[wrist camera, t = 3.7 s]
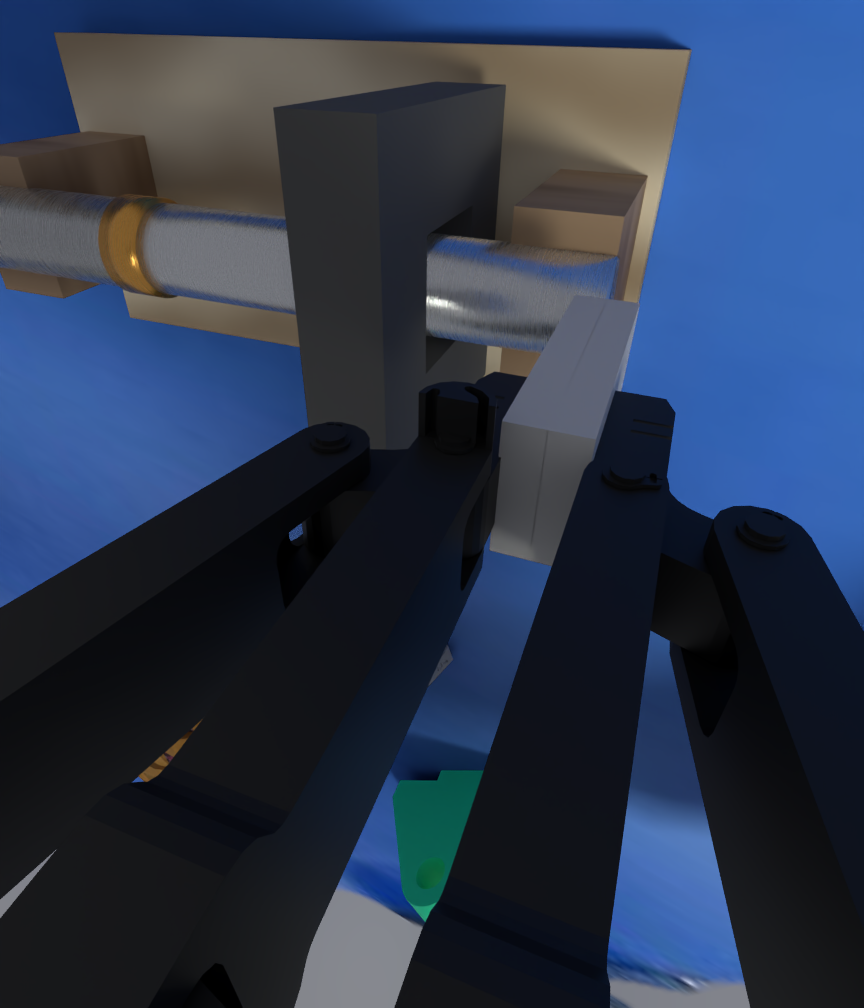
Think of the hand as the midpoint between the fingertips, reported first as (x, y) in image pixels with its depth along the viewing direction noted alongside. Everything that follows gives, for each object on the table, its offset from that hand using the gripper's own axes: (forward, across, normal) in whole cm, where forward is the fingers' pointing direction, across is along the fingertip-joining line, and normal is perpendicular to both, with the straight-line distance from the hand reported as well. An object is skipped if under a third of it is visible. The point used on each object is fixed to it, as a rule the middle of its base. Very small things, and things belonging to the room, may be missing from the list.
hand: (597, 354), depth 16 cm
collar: (+9, +6, 0) cm, 11 cm away
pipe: (+5, +12, 0) cm, 13 cm away
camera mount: (+12, +3, +42) cm, 44 cm away
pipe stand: (+12, +12, 0) cm, 17 cm away
